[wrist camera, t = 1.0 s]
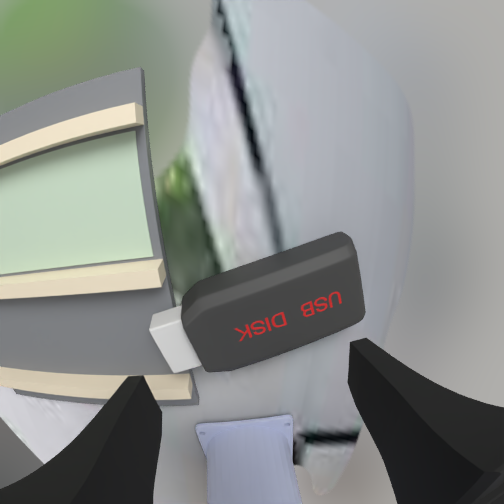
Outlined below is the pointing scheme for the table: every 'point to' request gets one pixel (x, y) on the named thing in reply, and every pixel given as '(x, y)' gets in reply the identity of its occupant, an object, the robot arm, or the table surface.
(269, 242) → the table surface
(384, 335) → the table surface
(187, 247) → the table surface
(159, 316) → the usb drive
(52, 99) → the gray striped board
